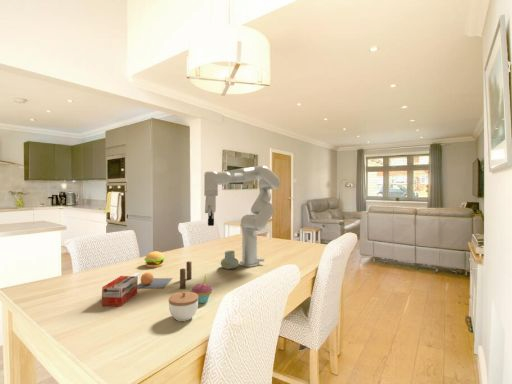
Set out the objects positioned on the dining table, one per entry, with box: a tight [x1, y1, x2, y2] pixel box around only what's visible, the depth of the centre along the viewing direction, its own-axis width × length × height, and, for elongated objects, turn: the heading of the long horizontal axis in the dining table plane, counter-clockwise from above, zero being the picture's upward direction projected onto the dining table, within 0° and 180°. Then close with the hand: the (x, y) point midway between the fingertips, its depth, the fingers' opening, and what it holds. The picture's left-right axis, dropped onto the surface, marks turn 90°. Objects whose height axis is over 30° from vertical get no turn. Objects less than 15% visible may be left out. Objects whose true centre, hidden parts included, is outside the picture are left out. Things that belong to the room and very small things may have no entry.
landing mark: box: [137, 277, 173, 289], centre depth 137 cm, size 14×14×1 cm
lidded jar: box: [168, 291, 199, 322], centre depth 101 cm, size 11×11×9 cm
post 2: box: [185, 260, 193, 281], centre depth 144 cm, size 3×3×9 cm
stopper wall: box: [131, 272, 141, 279], centre depth 137 cm, size 2×18×2 cm, turn 1°
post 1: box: [179, 268, 187, 290], centre depth 131 cm, size 3×3×9 cm
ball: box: [140, 272, 155, 285], centre depth 135 cm, size 6×6×6 cm
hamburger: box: [144, 250, 166, 269], centre depth 169 cm, size 12×12×9 cm
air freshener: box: [220, 250, 240, 270], centre depth 165 cm, size 11×8×10 cm
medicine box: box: [101, 275, 139, 307], centre depth 117 cm, size 15×8×8 cm, turn 178°
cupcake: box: [191, 274, 213, 304], centre depth 116 cm, size 9×8×12 cm
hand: (210, 225), depth 155 cm, fingers closed
